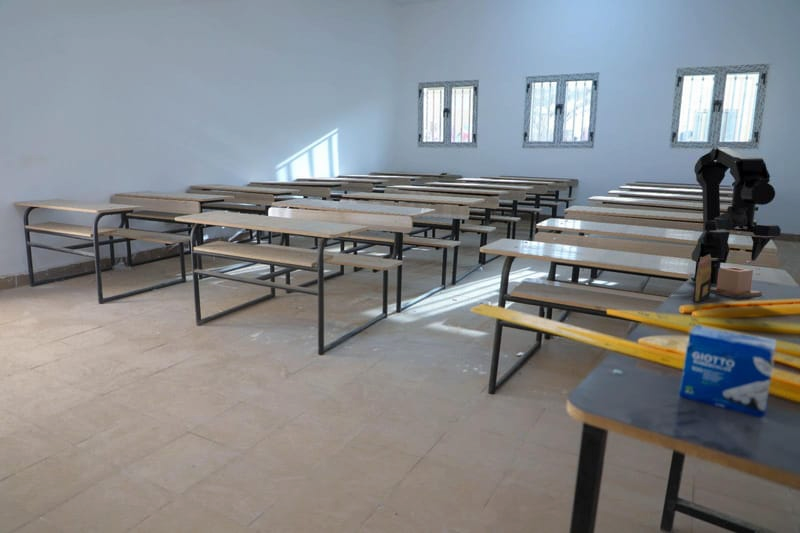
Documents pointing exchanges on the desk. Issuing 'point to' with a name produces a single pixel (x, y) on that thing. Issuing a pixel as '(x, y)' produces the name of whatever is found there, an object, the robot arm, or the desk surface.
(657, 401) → the desk surface
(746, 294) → the pin board
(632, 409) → the desk surface
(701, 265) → the ammunition clip
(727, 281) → the collar
